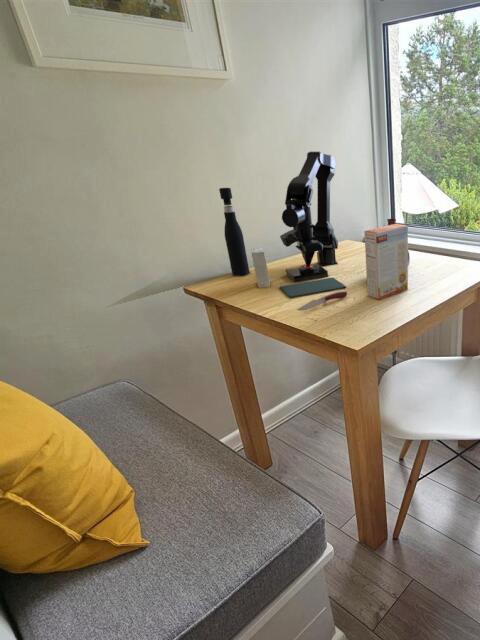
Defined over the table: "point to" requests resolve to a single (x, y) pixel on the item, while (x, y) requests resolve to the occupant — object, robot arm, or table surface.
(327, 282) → the mat
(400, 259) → the cracker box
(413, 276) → the table surface
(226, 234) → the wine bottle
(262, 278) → the cosmetic box
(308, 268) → the button
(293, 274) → the control block
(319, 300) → the knife
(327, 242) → the robot arm
